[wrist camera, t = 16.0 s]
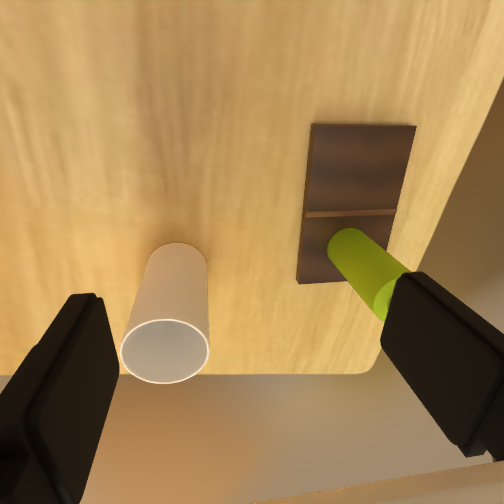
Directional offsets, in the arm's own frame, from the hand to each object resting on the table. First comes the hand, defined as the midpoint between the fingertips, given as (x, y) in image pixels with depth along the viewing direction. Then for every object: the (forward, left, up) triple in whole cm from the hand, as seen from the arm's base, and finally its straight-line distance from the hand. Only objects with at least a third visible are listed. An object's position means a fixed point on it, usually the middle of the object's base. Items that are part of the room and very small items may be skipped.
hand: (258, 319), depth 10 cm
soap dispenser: (+12, +18, -29) cm, 36 cm away
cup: (+15, -6, -31) cm, 35 cm away
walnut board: (+7, +18, -30) cm, 36 cm away
